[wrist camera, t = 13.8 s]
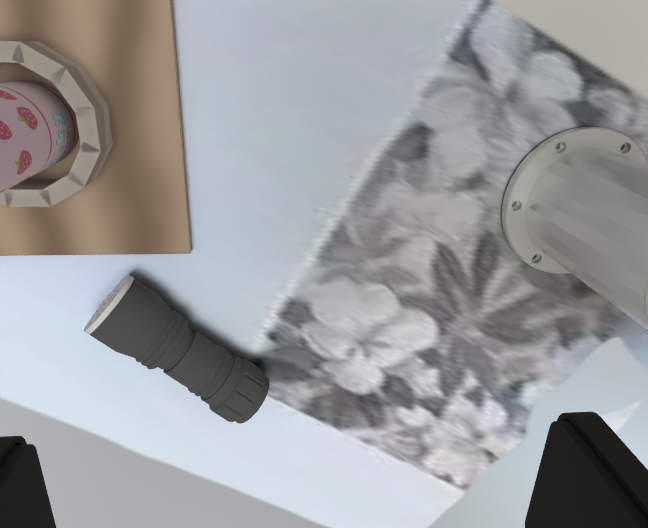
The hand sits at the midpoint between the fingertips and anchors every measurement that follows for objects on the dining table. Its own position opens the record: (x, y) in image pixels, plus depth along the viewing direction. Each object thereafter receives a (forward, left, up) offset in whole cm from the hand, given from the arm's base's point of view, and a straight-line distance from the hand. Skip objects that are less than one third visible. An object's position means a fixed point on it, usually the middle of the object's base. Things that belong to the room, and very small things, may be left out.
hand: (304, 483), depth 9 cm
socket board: (+17, -2, -32) cm, 36 cm away
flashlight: (+8, +16, -33) cm, 37 cm away
